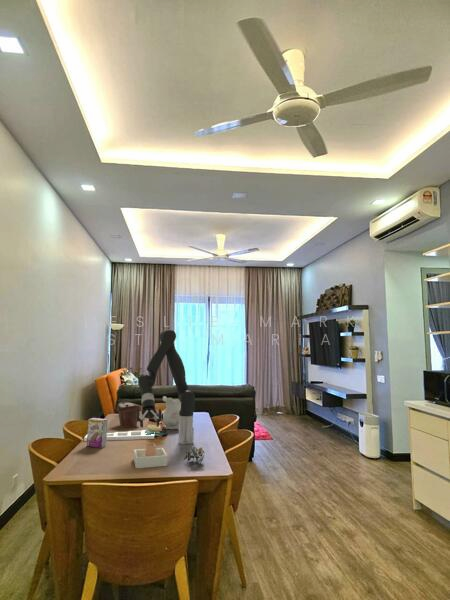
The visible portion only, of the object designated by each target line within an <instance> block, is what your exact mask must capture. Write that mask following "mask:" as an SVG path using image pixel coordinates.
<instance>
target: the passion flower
mask: <svg viewBox="0 0 450 600" xmlns="http://www.w3.org/2000/svg"><path fill="white" fill-rule="evenodd" d="M190 447H191V450H189V451H187V450H185V451H184V453H185V455H186V456H185V457H184V458H183V461H185V460H186V459H187V460H186V464H188V463H189V462H190V461H191V459H193V460H194V459H195V461H196V462H197V464H198V465H199V466H203V462H204V460H205V459H204V458H205V450H203V447H198V446H195V445H191V444H190Z"/></svg>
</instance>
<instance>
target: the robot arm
mask: <svg viewBox="0 0 450 600" xmlns="http://www.w3.org/2000/svg"><path fill="white" fill-rule="evenodd" d="M176 339H177V333H176V332H175V330H173V329H165V330H162V331H161V332H160V334H159V341H160V344H159V347H158V348H157V350H156V351H155V353H154V354H153V356H152V357H151V359H150V360H149V363H148V365H147V367H146V371H147V372H148V373H149V375H148V374H146V373H142V374H141V375H139V377H138V380H137V383H138V386H139V389H140V392H141V408H142V411H139V410H137V423H139V426H140V428H141V429H143V428H144V420H145V419H153V420H155V421H156V424H155V425H156V428H158V427H160V421H161V420H162V413H161V412H162V409H161V408H159V409H158V410H157V409H156V403H155V396H154V389H153V387H154V386H155V384H156V380H157V374H158V372H159V368H160V367H161V365H162V363H163V360H164V358H165V357H166V360H167V363H168V366H169V370H170V373H171V376H172V379H173V381H174V384H175V389H176V392H177V397H178V398H177V399H179V401H180V402H181V410H180V411H179V429H178V444H181V445H191V444H194V439H195V438H194V437H195V436H194V435H195V434H194V433H195V432H194V430H195V428H194V412H195V408H196V407H195V405H196V397H195V396H196V395H195V394H194V392H193V391H191V390H190V389H189V386H188V384H187V380H186V379H187V378H186V369H185V366H184V362H183V359H182V358H181V356H180V355H179V352H178V351H177V350H176V347H175V343H174V342H175V341H176ZM141 415H142V416H141ZM140 416H141V417H140Z"/></svg>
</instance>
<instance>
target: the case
mask: <svg viewBox="0 0 450 600" xmlns="http://www.w3.org/2000/svg"><path fill="white" fill-rule="evenodd" d="M137 410H139V411H142V405H140V404H136V403H132V402H130V401H120V402H119V403H118V404H117V408H116V411H117V413H118V419H119V425H120V427H122V428H133V427H134V428H135V427H137V426H138V425H137V424H138V422H137Z"/></svg>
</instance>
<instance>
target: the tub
mask: <svg viewBox="0 0 450 600" xmlns="http://www.w3.org/2000/svg"><path fill="white" fill-rule="evenodd" d="M144 447H145V448H144V449H145V457H150V456H156V448H157V445H156V443H145V446H144Z"/></svg>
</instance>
